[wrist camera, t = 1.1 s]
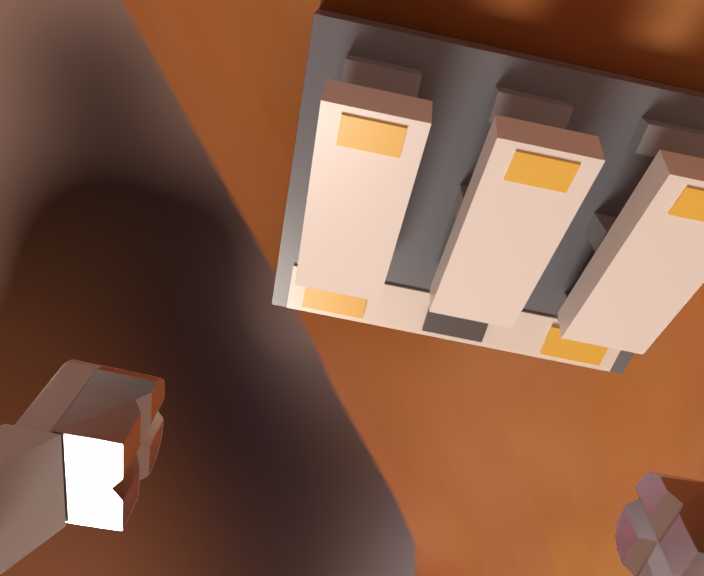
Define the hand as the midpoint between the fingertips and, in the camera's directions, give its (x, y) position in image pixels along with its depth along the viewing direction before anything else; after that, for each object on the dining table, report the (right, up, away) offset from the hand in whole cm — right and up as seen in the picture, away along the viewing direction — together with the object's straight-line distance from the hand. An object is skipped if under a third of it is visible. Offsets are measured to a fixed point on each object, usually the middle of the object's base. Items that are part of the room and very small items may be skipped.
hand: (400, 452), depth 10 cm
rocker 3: (+15, +4, +23) cm, 27 cm away
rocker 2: (+7, +6, +22) cm, 24 cm away
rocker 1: (0, +8, +23) cm, 24 cm away
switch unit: (+7, +8, +28) cm, 30 cm away
